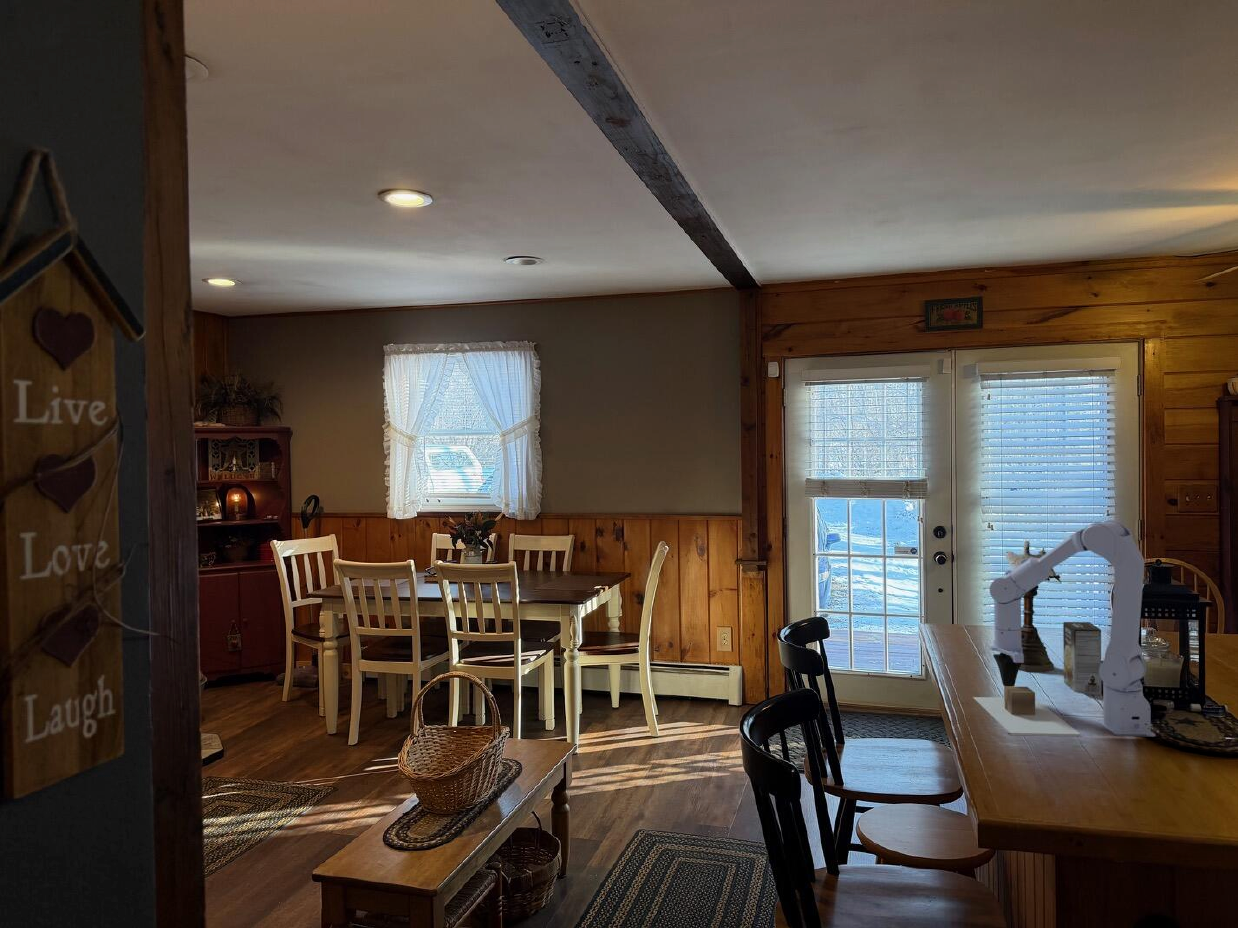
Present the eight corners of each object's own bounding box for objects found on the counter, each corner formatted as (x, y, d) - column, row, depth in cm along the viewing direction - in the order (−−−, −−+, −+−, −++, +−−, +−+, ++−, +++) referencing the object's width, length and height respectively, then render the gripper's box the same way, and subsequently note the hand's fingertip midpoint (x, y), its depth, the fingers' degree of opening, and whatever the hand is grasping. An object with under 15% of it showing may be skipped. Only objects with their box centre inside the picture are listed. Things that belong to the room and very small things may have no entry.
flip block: (1027, 708, 194) (1035, 714, 189) (1004, 707, 195) (1011, 714, 190) (1026, 686, 194) (1035, 692, 189) (1004, 686, 195) (1011, 692, 190)
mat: (1080, 736, 176) (1080, 733, 176) (1010, 735, 178) (1010, 732, 178) (1034, 700, 202) (1034, 697, 202) (972, 699, 204) (972, 697, 204)
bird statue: (1071, 677, 221) (1069, 543, 221) (1017, 675, 224) (1015, 543, 223) (1052, 662, 237) (1050, 537, 237) (1002, 660, 240) (1000, 537, 239)
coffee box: (1062, 684, 215) (1061, 621, 215) (1090, 685, 214) (1089, 621, 214) (1074, 694, 206) (1073, 628, 206) (1103, 695, 205) (1102, 629, 205)
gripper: (980, 621, 206) (981, 677, 207) (1000, 634, 192) (1001, 694, 192) (1010, 622, 206) (1011, 677, 206) (1033, 634, 191) (1033, 694, 191)
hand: (1008, 685), depth 199 cm, fingers closed
